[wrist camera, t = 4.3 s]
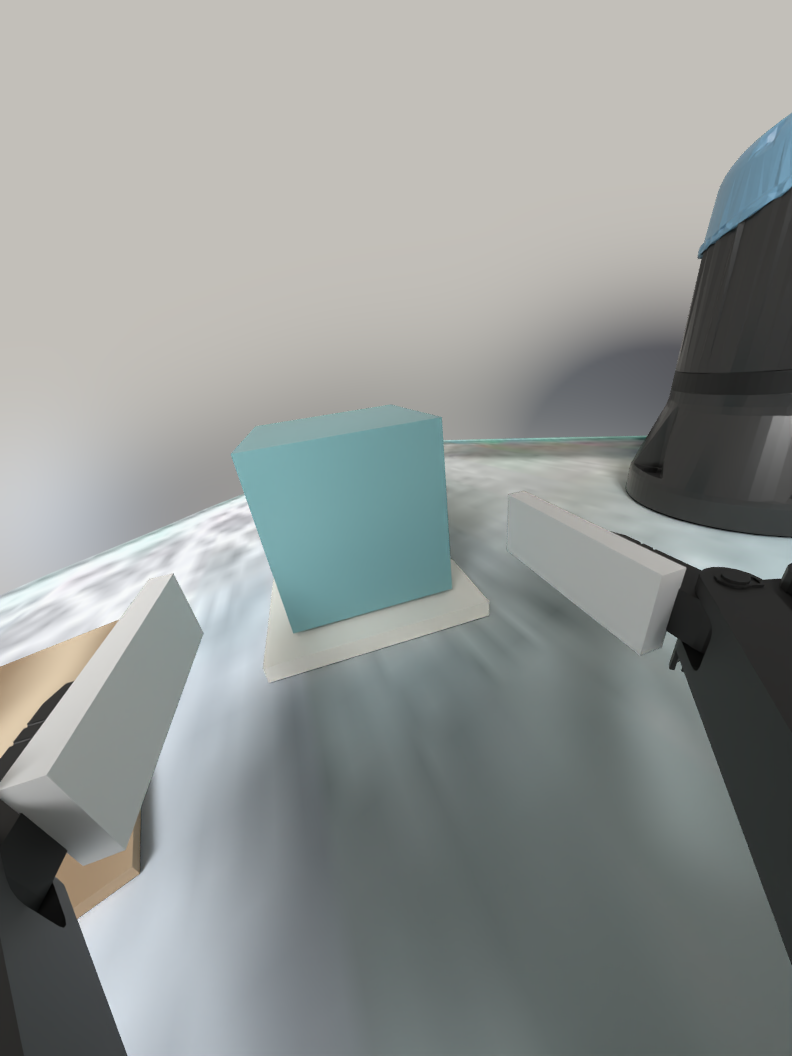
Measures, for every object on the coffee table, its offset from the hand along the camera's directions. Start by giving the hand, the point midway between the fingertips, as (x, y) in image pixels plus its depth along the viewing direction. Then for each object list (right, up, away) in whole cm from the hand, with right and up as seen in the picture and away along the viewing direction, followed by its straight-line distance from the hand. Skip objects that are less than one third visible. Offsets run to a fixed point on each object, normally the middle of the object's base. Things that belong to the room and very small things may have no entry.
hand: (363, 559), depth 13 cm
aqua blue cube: (-1, -1, +9) cm, 9 cm away
